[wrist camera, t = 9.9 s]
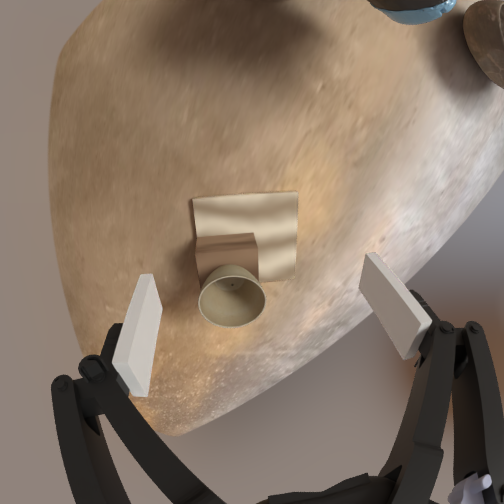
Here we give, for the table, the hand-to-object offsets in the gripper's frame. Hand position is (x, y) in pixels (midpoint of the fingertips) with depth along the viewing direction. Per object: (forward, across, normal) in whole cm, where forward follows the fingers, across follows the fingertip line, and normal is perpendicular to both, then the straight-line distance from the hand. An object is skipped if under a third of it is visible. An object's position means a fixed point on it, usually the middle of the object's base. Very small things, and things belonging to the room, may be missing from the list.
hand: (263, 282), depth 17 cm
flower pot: (+25, -2, -17) cm, 30 cm away
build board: (+32, +2, -14) cm, 35 cm away
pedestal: (+31, -2, -17) cm, 35 cm away
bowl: (+33, +59, +34) cm, 76 cm away
